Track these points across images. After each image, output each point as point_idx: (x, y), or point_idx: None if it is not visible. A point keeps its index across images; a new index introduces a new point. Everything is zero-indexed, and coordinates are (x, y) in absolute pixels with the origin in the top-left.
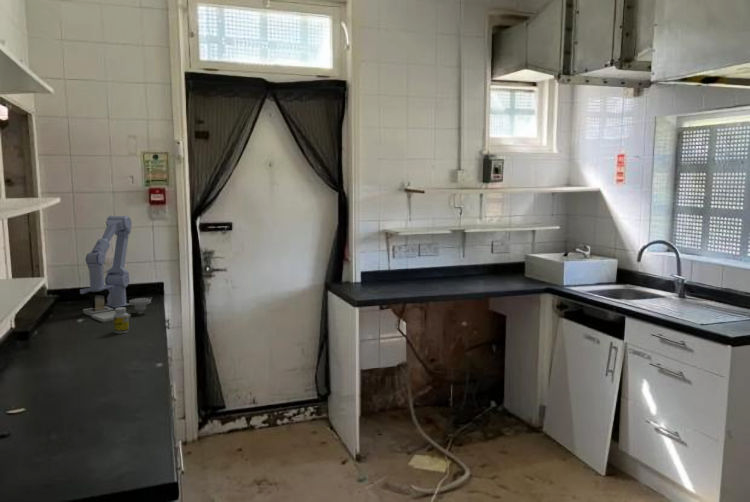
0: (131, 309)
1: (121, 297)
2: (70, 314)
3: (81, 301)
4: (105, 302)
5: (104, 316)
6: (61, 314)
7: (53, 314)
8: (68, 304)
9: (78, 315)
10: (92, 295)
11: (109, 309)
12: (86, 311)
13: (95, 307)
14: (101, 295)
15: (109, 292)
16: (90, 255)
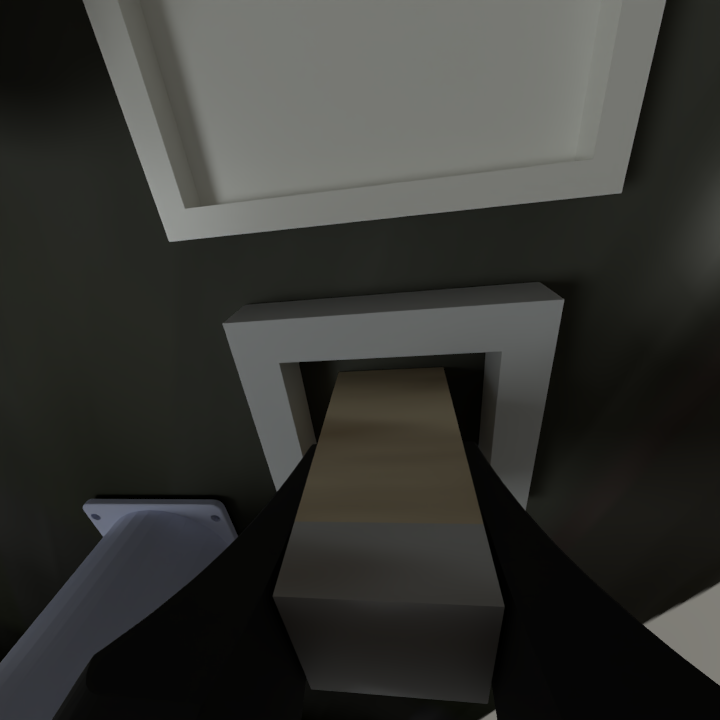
0: (57, 344)
1: (86, 590)
2: (613, 523)
3: (365, 708)
4: (290, 479)
5: (451, 31)
6: (659, 563)
7: (695, 595)
8: (447, 704)
9: (595, 447)
10: (647, 699)
11: (283, 341)
12: (530, 455)
13: (457, 429)
14: (306, 657)
15: (78, 678)
16: None
